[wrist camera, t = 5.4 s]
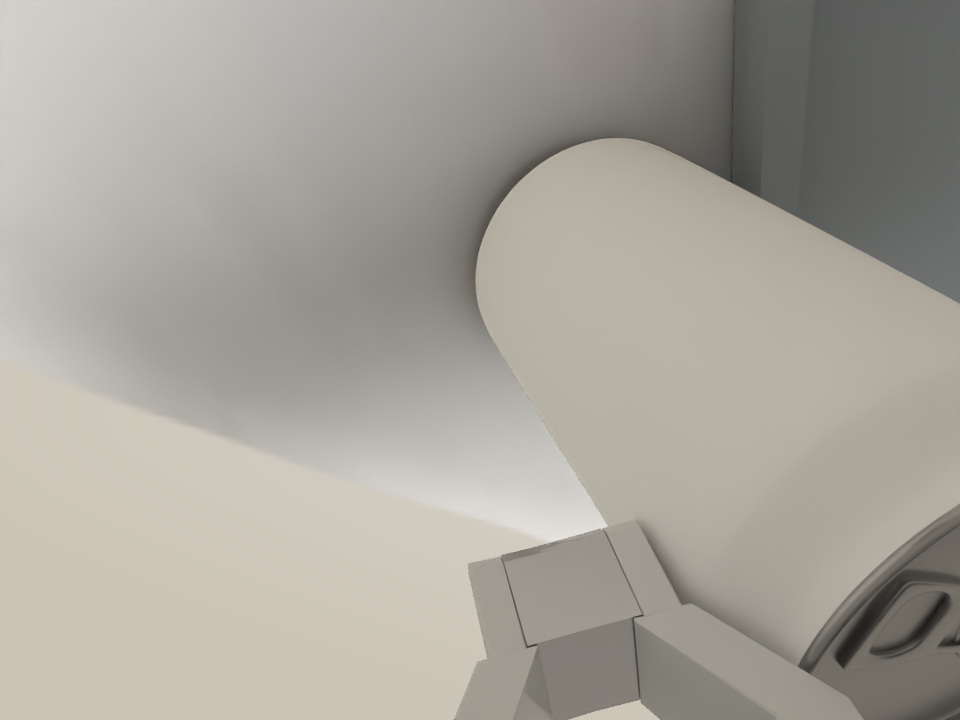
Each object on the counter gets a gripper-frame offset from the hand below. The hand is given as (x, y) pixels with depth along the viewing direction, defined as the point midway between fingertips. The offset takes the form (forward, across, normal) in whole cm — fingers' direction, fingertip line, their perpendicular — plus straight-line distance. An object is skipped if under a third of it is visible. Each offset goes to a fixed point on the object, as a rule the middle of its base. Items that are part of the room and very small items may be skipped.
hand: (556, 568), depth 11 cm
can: (+9, -4, 0) cm, 10 cm away
